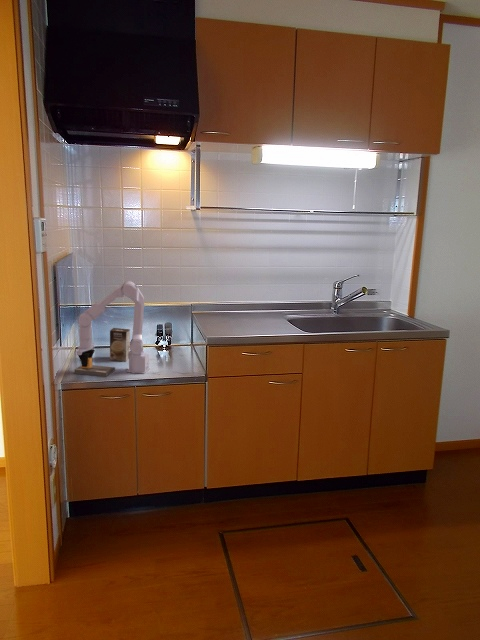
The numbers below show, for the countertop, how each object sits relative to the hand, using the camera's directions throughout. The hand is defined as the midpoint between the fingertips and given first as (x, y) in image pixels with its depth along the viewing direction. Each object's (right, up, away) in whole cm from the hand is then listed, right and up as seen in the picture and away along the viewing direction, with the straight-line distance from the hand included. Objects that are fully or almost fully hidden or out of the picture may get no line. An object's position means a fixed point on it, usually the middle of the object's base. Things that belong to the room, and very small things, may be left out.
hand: (86, 365), depth 243 cm
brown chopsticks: (+5, -2, +6) cm, 8 cm away
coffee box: (+11, +1, +23) cm, 25 cm away
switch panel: (+4, -3, 0) cm, 5 cm away
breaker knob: (0, -1, 0) cm, 1 cm away
